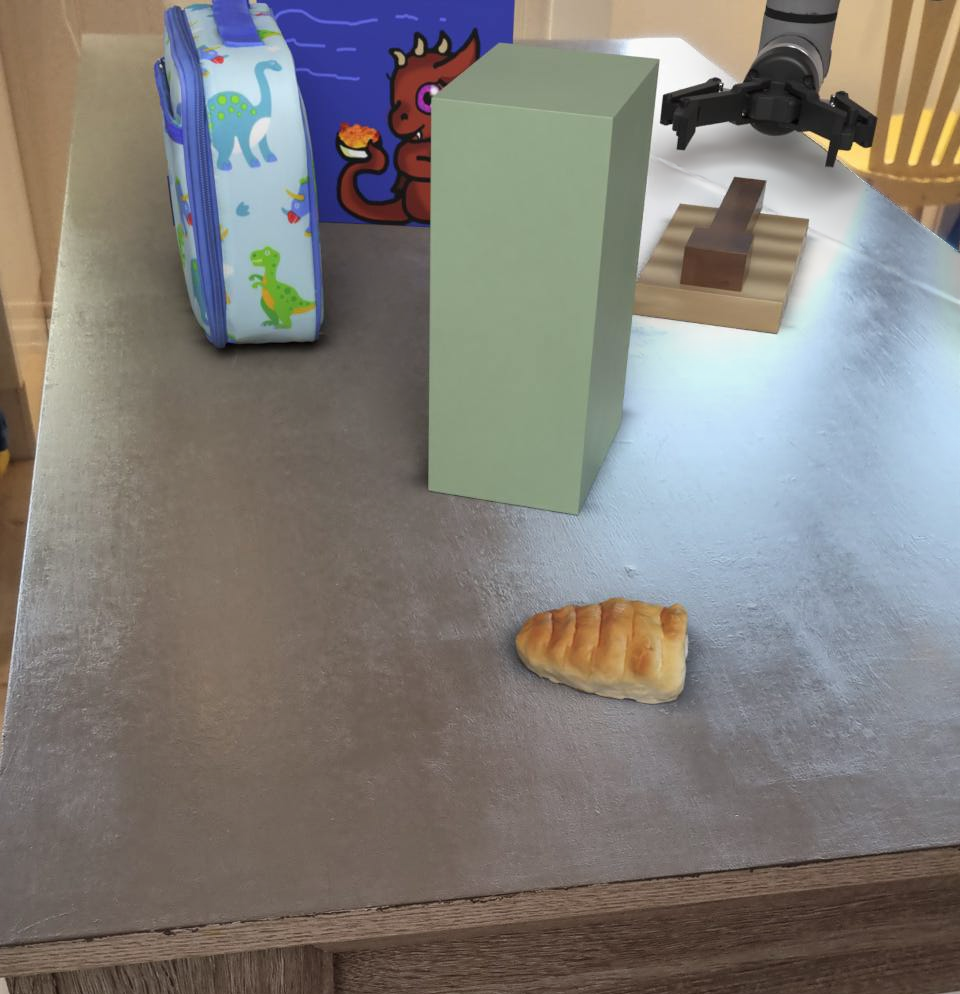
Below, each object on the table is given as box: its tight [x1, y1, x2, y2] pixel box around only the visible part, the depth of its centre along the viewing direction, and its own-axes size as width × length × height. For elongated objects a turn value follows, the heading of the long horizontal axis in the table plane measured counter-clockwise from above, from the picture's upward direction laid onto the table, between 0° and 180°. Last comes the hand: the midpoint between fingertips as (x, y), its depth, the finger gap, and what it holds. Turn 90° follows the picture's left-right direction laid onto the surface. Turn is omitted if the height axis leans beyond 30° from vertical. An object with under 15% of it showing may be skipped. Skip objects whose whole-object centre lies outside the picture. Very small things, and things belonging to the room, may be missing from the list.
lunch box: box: [153, 0, 325, 349], centre depth 104 cm, size 26×11×21 cm, turn 12°
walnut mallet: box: [680, 176, 767, 292], centre depth 118 cm, size 22×5×3 cm, turn 164°
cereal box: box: [255, 0, 516, 228], centre depth 119 cm, size 22×6×30 cm, turn 88°
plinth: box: [427, 43, 661, 516], centre depth 85 cm, size 14×10×23 cm
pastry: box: [514, 596, 690, 705], centre depth 73 cm, size 9×7×4 cm
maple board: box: [633, 202, 810, 334], centre depth 119 cm, size 22×12×2 cm, turn 164°
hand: (756, 142), depth 124 cm, fingers open, 13 cm apart
